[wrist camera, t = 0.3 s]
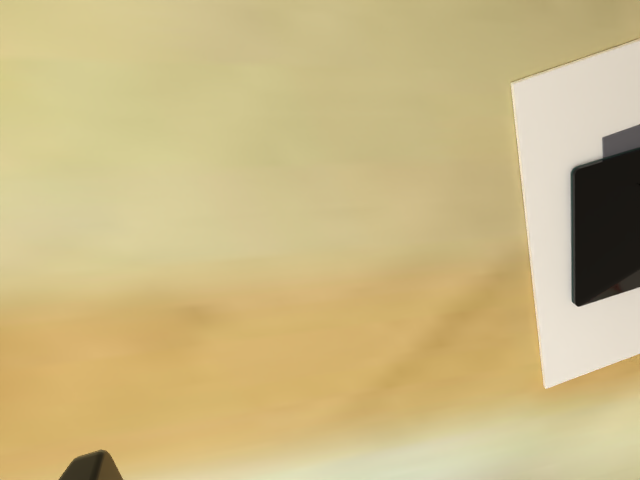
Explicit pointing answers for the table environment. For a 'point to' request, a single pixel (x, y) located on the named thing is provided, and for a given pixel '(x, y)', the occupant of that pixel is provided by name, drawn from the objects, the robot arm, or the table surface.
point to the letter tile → (555, 206)
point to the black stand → (605, 227)
